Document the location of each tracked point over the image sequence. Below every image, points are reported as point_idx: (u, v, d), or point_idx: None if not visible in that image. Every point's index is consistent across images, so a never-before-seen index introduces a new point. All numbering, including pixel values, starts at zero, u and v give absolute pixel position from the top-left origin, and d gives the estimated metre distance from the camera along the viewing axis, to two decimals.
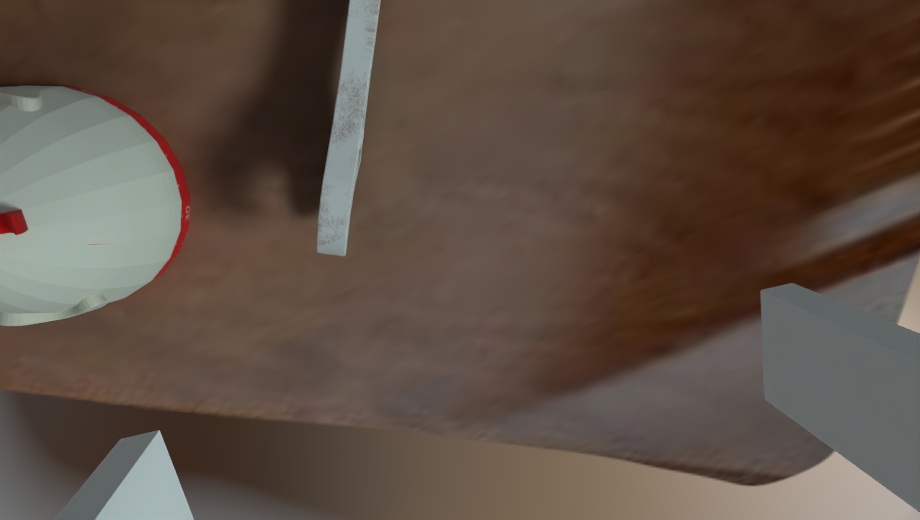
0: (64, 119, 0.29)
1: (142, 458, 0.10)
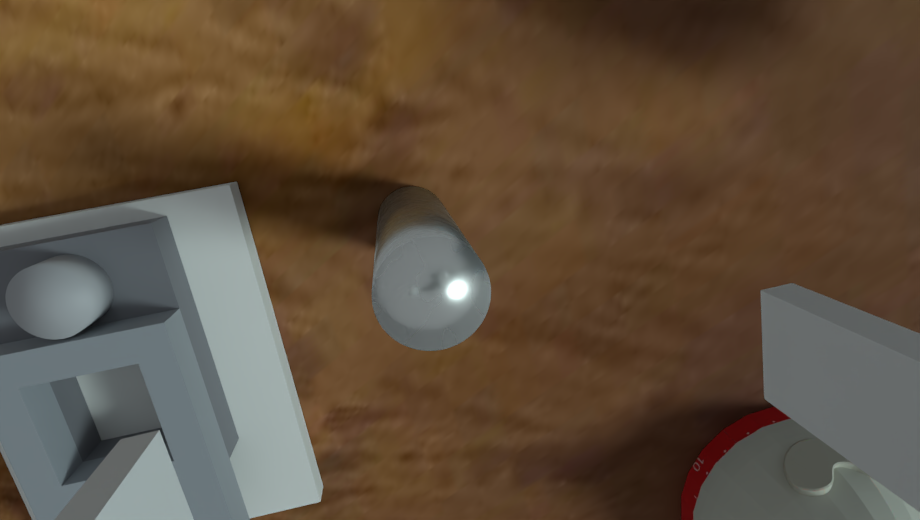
0: None
1: (142, 458, 0.10)
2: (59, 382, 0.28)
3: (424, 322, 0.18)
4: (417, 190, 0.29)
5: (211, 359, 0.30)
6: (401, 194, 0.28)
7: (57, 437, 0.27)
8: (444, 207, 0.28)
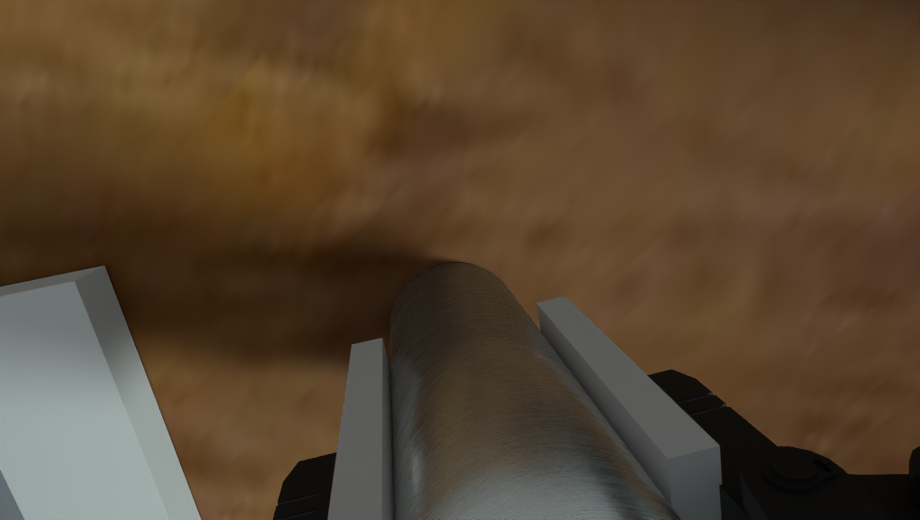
0: None
1: (383, 354, 0.12)
2: None
3: None
4: (471, 280, 0.14)
5: None
6: (441, 295, 0.14)
7: None
8: None
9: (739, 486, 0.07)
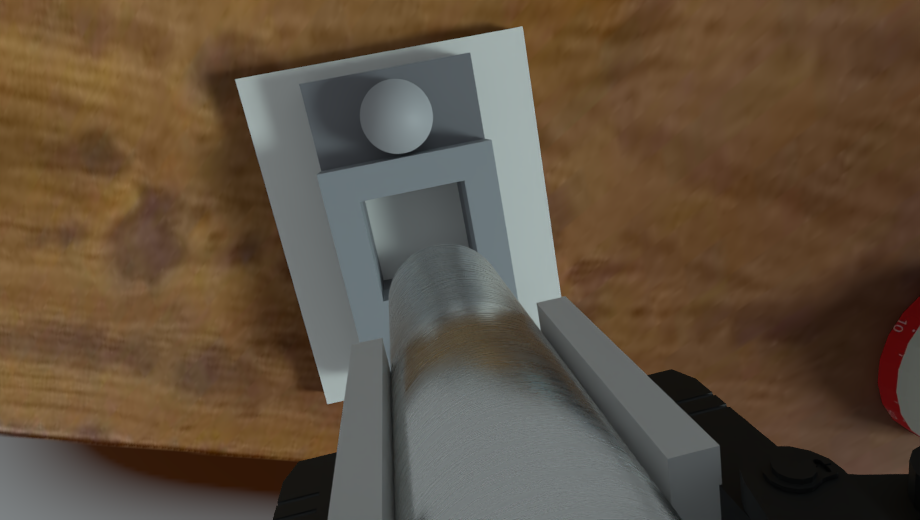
0: None
1: (383, 354, 0.12)
2: (365, 213, 0.30)
3: None
4: (459, 257, 0.17)
5: None
6: (432, 268, 0.16)
7: (374, 259, 0.29)
8: (512, 293, 0.15)
9: (739, 486, 0.07)
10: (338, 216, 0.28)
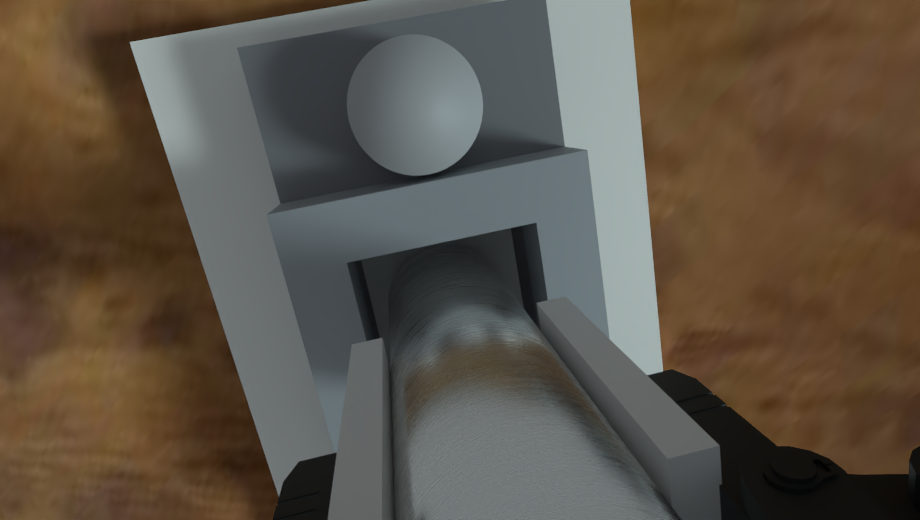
0: None
1: (383, 354, 0.12)
2: (359, 272, 0.18)
3: None
4: (458, 257, 0.17)
5: None
6: (432, 268, 0.16)
7: None
8: (511, 293, 0.15)
9: (739, 486, 0.07)
10: (308, 288, 0.15)
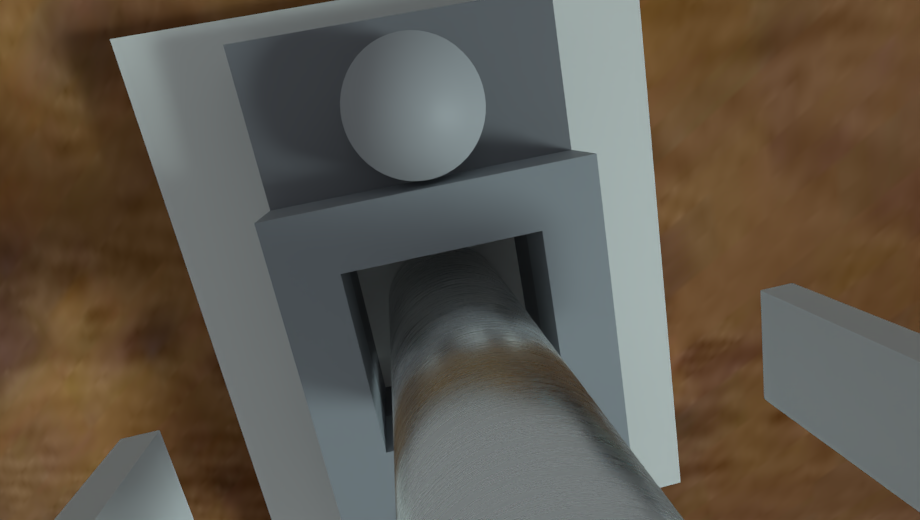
0: None
1: (142, 458, 0.10)
2: (354, 282, 0.17)
3: None
4: (459, 257, 0.17)
5: None
6: (433, 268, 0.16)
7: (370, 370, 0.16)
8: None
9: None
10: (299, 301, 0.14)
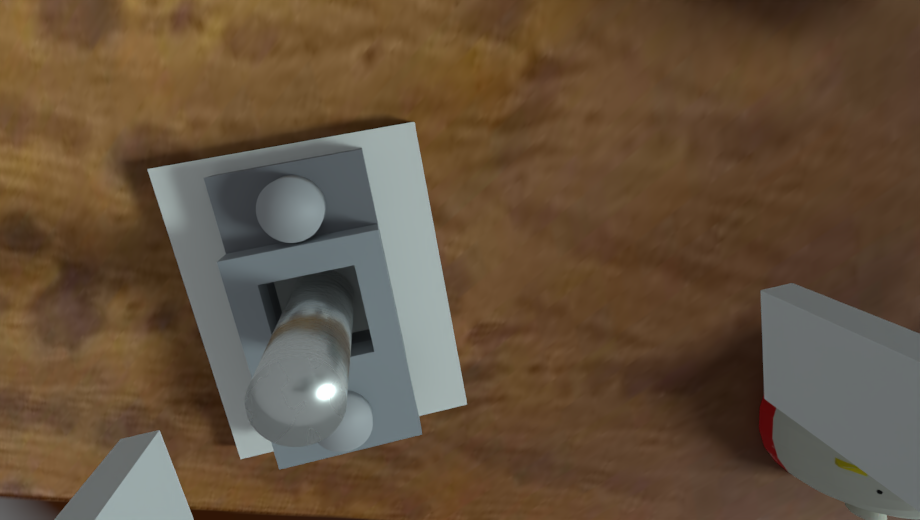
0: None
1: (142, 458, 0.10)
2: (270, 289, 0.33)
3: (291, 424, 0.22)
4: (323, 276, 0.33)
5: (388, 273, 0.35)
6: (307, 282, 0.32)
7: None
8: (343, 294, 0.32)
9: None
10: (238, 297, 0.31)
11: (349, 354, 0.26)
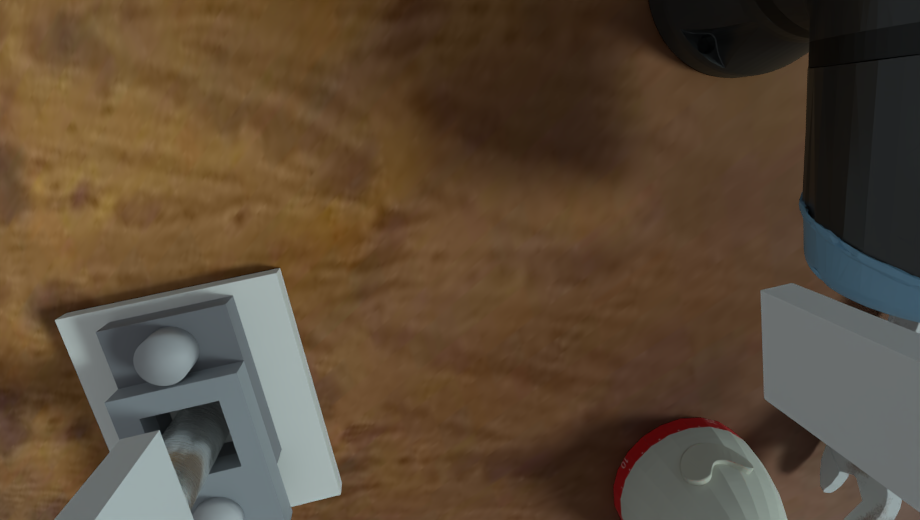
0: (759, 473, 0.46)
1: (142, 458, 0.10)
2: None
3: None
4: None
5: (262, 393, 0.42)
6: (185, 410, 0.39)
7: None
8: (213, 421, 0.39)
9: None
10: (124, 429, 0.38)
11: (193, 492, 0.33)
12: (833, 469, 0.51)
